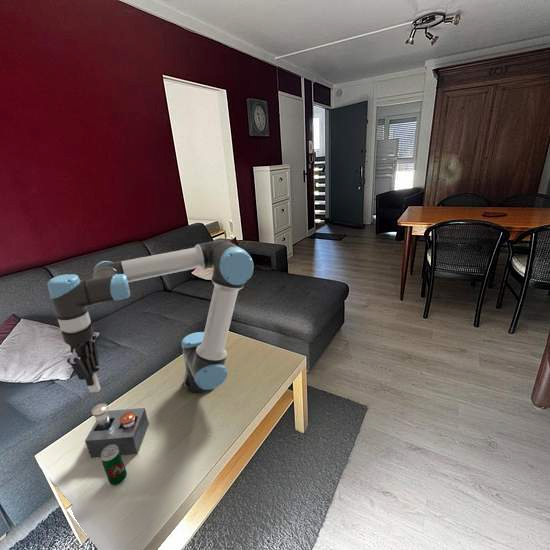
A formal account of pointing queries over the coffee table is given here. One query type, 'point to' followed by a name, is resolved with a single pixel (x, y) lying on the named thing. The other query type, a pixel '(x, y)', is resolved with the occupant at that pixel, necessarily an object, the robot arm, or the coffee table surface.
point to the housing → (118, 434)
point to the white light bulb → (101, 416)
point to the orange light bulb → (128, 420)
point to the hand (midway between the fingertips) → (95, 390)
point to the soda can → (113, 464)
